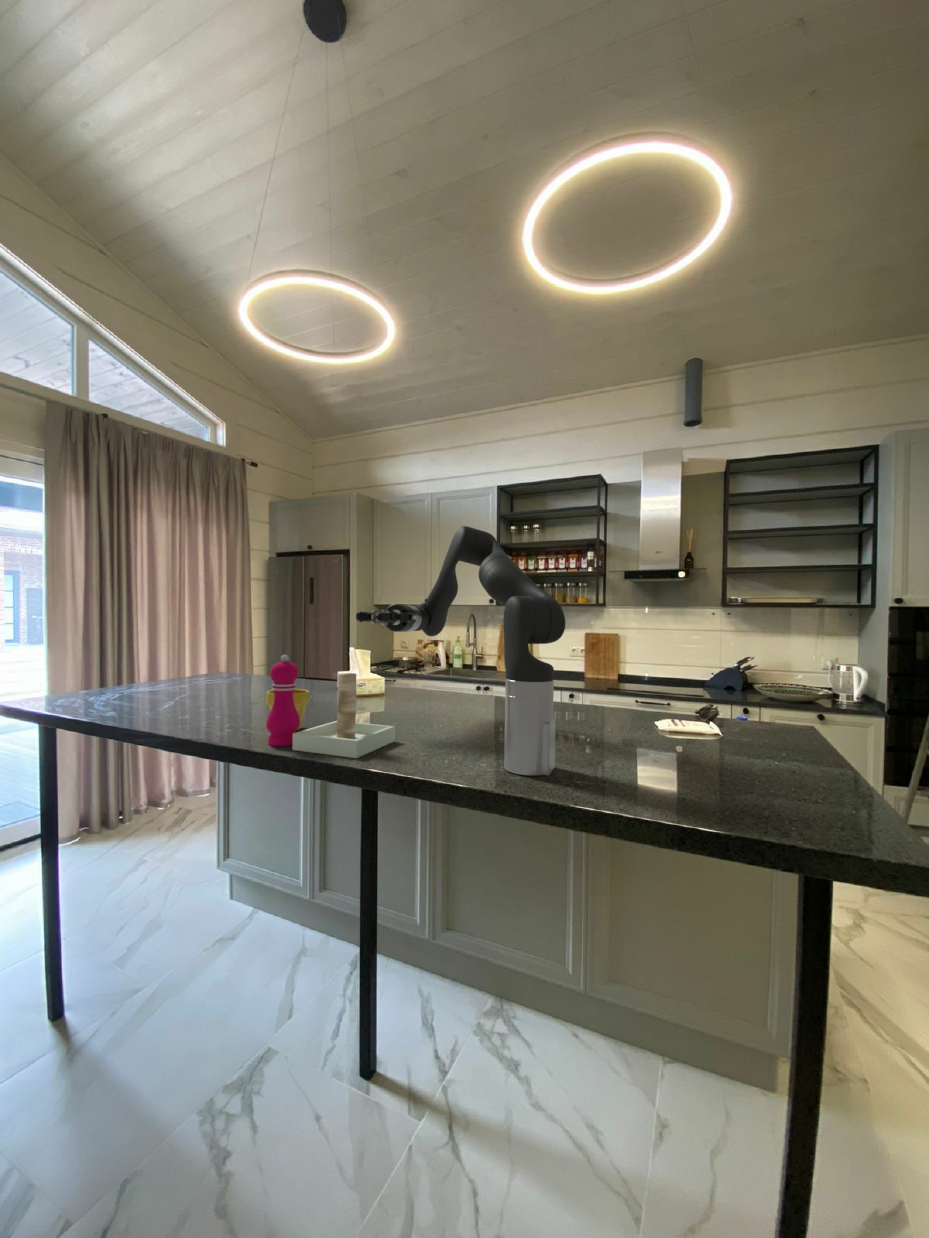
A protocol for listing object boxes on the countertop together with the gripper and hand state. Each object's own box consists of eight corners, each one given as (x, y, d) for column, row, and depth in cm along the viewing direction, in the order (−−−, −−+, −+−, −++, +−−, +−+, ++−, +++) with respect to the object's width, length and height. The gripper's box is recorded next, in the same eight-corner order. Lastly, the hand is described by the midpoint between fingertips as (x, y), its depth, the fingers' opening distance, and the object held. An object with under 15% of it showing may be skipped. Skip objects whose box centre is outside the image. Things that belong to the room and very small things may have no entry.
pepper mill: (304, 739, 116) (306, 654, 116) (291, 747, 109) (293, 656, 109) (275, 738, 116) (277, 653, 117) (259, 746, 109) (261, 655, 109)
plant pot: (312, 725, 132) (313, 688, 132) (302, 733, 122) (303, 694, 122) (273, 725, 132) (273, 688, 132) (259, 733, 121) (260, 693, 121)
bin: (394, 741, 116) (394, 726, 116) (356, 758, 101) (356, 740, 101) (336, 734, 122) (337, 720, 122) (292, 749, 107) (292, 733, 107)
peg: (358, 744, 112) (359, 673, 113) (348, 748, 109) (349, 675, 109) (343, 742, 114) (344, 672, 114) (332, 746, 110) (334, 674, 110)
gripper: (380, 604, 139) (348, 601, 124) (427, 604, 134) (399, 600, 119) (380, 631, 139) (347, 631, 124) (426, 632, 134) (398, 632, 119)
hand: (372, 616), depth 122 cm, fingers open, 8 cm apart
